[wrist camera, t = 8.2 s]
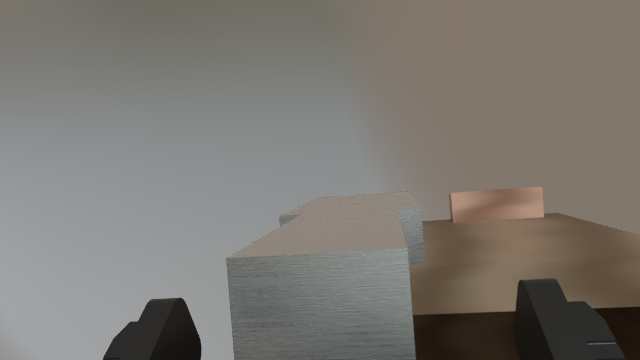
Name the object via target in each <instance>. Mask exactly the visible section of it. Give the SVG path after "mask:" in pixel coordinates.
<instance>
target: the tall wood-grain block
mask: <svg viewBox="0 0 640 360" xmlns="http://www.w3.org/2000/svg"><path fill="white" fill-rule="evenodd" d="M449 199H450V213H451V220H437V221H422V226H423V240H424V253H425V267H409V274H410V288H411V301H412V314H413V327H414V341H415V354H416V360H520V358H519V355H518V352H517V348H516V343H515V335H514V321H515V310H516V299H517V288H518V282H519V280H527V279H547V278H555V279H556V280H557V281H558V283H559V285H560V287H561V289H562V291H563V293H564V295H565V297H566V299H567V301H568V302H571V301H585V302H586V303H587V304H588V305H589V306H590V307H592V308H593V309H594V310H595V311H596V312H597V313H598V314H599V315H601V316H602V317H603V318H604V319H605V321H606V323H607V325H608V327H609V328H610V330H611V332H612V334H613V336H614V338H615V339H616V344H617V345H619V347H620V349H621V351H622V352H623V354H624V356H625V358H626V360H640V235H637V234H633V233H629V232H626V231H622V230H618V229H614V228H611V227H607V226H604V225H600V224H596V223H593V222H589V221H585V220H582V219H577V218H574V217H571V216H567V215H563V214H559V213H547V214H544V208H543V194H542V188H541V187H531V188H516V189H502V190H487V191H473V192H460V193H449Z"/></svg>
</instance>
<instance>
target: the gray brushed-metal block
mask: <svg viewBox="0 0 640 360" xmlns="http://www.w3.org/2000/svg"><path fill="white" fill-rule="evenodd" d="M279 220H280V227H279V228H278V229H276V230H274V231H273V232H271V233H269V234H267V235H265V236H264V237H262V238H260V239H259V240H257V241H255V242H253V243H252V244H250V245H248V246H247V247H245V248H243V249H241V250H240V251H238V252H236V253H235V254H233V255H231V256H229V257H228V258H226V262H227V275H228V287H229V299H230V311H231V323H232V335H233V348H234V360H416V354H415V341H414V327H413V314H412V301H411V288H410V274H409V267H425V253H424V240H423V226H422V214H421V206H420V205H419V204H418V202H417V201H416V200H415V199H414V198H413V197H412V196H411V195H410V193H409V192H408V191H407V192H392V193H378V194H364V195H352V196H351V195H350V196H336V197H322V198H316V199H314V200H312V201H310V202H308V203H306V204H303V205H301V206H299V207H297V208H295V209H293V210H290V211H289V212H286V213H284V214H282V215H280V216H279Z"/></svg>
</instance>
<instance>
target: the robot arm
mask: <svg viewBox="0 0 640 360" xmlns="http://www.w3.org/2000/svg"><path fill="white" fill-rule="evenodd" d="M514 335H515V343H516V348H517V352H518V355H519V358H520V360H626V358H625V356H624V354H623V352H622V351H621V349H620V347H619V345H617V344H616V339H615V338H614V336H613V334H612V332H611V330H610V328H609V327H608V325H607V323H606V321H605V319H604V318H603V317H602V316H601V315H599V314H598V313H597V312H596V311H595V310H594V309H593V308H592V307H590V306H589V305H588V304H587V303H586V302H585V301H571V302H568V301H567V299H566V297H565V295H564V293H563V291H562V289H561V287H560V285H559V283H558V281H557V280H556V279H555V278H547V279H527V280H519V282H518V288H517V299H516V310H515V321H514ZM200 359H201V342H200V338H199V335H198V332H197V330H196V327H195V325H194V322H193V320H192V317H191V315H190V312H189V310H188V307H187V305H186V303H185V301H184V300H183V299H182V298H169V299H152V300H150V301H149V302H148V303H147V305H146V307H145V309H144V311H143V313H142V315H141V317H140V319H139V321H137V322H130V323H129V324H128V325H127V326H126V327H125V328H124V329H123V330H122V331H121V332H120V333H119V334H118V335H117V336H116V337H115V338H114V339H113V341H112V342H111V344H110V346H109V348H108V350H107V352H106V354H105V355H104V358H103V360H200Z"/></svg>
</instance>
